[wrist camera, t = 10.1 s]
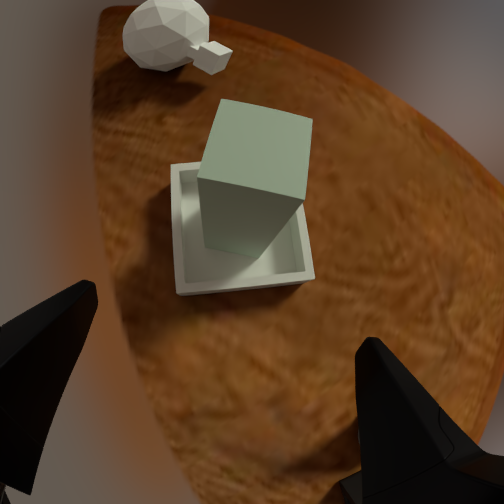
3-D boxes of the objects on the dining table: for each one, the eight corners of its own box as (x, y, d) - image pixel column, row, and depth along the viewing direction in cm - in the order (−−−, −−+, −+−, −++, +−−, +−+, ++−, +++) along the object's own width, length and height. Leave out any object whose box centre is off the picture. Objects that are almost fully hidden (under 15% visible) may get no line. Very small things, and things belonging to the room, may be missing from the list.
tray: (303, 283, 22) (315, 278, 19) (180, 296, 20) (176, 293, 18) (285, 173, 23) (293, 158, 21) (174, 180, 22) (170, 164, 19)
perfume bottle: (100, 65, 22) (181, 112, 23) (112, -9, 14) (212, 27, 15) (155, 42, 27) (230, 83, 28) (174, -18, 19) (263, 18, 20)
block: (259, 258, 21) (304, 199, 10) (204, 247, 21) (196, 176, 10) (267, 207, 22) (312, 119, 11) (216, 197, 22) (221, 98, 11)
